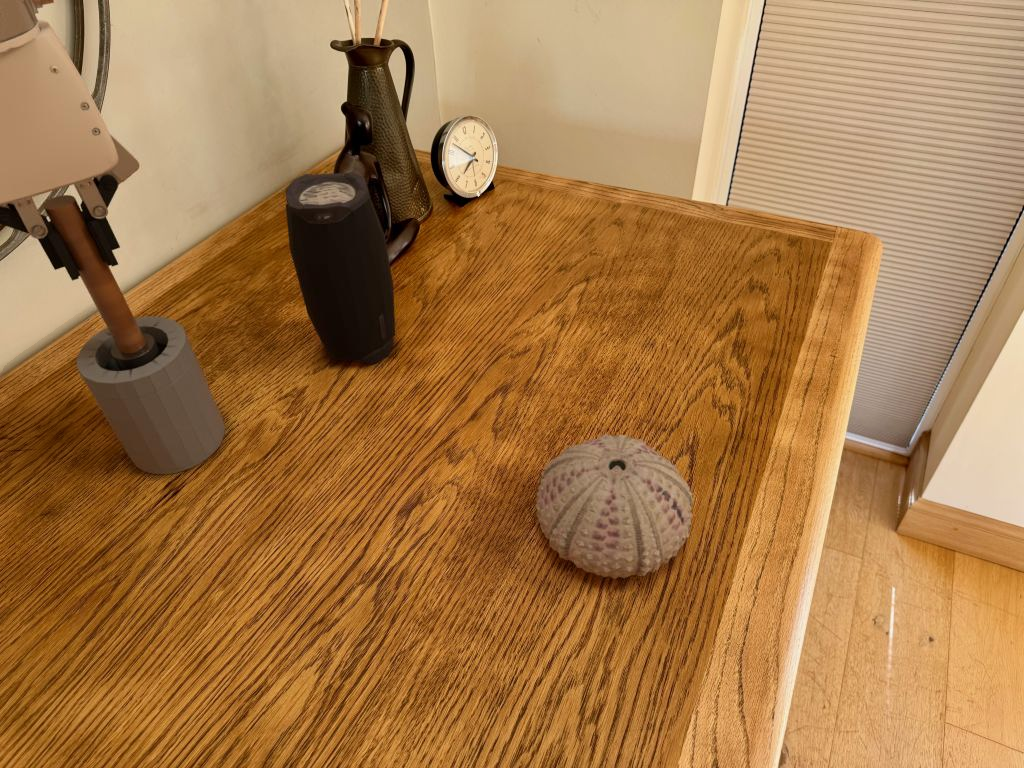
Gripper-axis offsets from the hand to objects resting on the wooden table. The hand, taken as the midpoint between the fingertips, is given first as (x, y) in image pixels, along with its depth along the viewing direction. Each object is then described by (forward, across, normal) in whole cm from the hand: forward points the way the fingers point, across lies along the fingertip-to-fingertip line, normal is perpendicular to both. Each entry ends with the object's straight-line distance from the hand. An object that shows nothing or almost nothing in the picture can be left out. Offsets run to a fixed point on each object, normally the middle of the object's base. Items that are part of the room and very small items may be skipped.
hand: (90, 263), depth 58 cm
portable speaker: (+21, -21, -2) cm, 30 cm away
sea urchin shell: (+21, -27, +34) cm, 48 cm away
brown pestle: (+13, 0, 0) cm, 13 cm away
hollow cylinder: (+21, 0, 0) cm, 21 cm away
